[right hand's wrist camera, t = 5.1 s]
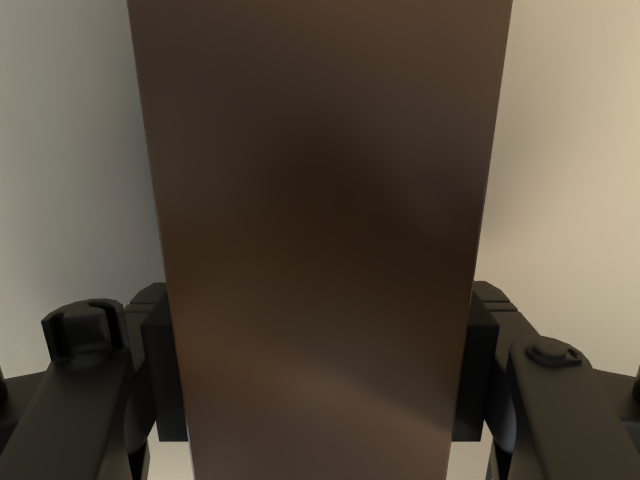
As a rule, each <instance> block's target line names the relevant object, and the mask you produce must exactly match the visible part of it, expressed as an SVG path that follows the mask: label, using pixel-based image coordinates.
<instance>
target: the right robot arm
mask: <svg viewBox="0 0 640 480" xmlns="http://www.w3.org/2000/svg"><path fill="white" fill-rule="evenodd" d="M41 324H42V327H43V331H44V335H45V339H46V343H47V346H48V350H49V354H50V358H51V363H50V365H49V367H48V369H47V370H46V371H43V372H39V373H34V374H29V375H24V376H18V377H13V378H8V379H4V377H3V374H2V370H1V367H0V480H147V477H148V470H149V462H150V453H149V446H148V441H147V437H148V435H149V433H150V431H151V429H152V427H153V425H154V423H155V421H156V425H157V430H158V436H159V442H188V434H187V427H186V420H185V413H184V406H183V399H182V392H181V384H180V377H179V370H178V363H177V356H176V349H175V342H174V334H173V327H172V320H171V313H170V306H169V299H168V292H167V284H166V283H153V284H151V285H150V286H148V287H146V288H144V289H143V290H141V291H139V292H138V293H137V295H136V296H135V297H134V298H133V299H132V300H131V302H130V304H128V305H127V306H126V307H125V308H124V310H123V305H122V304H120V303H119V302H118V301H116V300H111V299H88V300H83V301H78V302H74V303H71V304H68V305H65V306H62V307H60V308H58V309H57V310H55V311H53V312H51V313H49V314H48V315H47V316H46V317H45V318H44V319H43V320H42V321H41ZM484 419H485V421H486V423H487V425H488V427H489V429H490V431H491V433H492V436H493V441H492V446H491V451H490V457H489V462H488V468H487V473H486V479H485V480H492V478H493V480H640V366H639V369H638V372H637V376H636V377H632V376H627V375H621V374H616V373H611V372H606V371H600V370H596V369H593V368H592V366H591V364H590V362H589V361H588V359H587V358H586V357H585V356H584V355H583V354H582V352H580V351H579V350H577V349H576V348H574V347H572V346H571V345H569V344H567V343H564V342H562V341H559V340H557V339H554V338H549V337H545V336H540V335H539V333H538V332H537V331H536V330H535V329H534V328H533V326H532V325H531V324H530V323H529V322H528V321H527V320H526V318H525V317H524V316H523V315H522V314H521V313H520V312H518V309H517V308H516V307H515V306H514V305H513V303H510V300H509V299H508V298H507V297H506V295H505V294H504V293H503V292H502V291H501V290H500V289H498V288H496V287H495V286H493V285H491V284H489V283H488V282H486V281H474V282H473V289H472V296H471V303H470V310H469V317H468V325H467V332H466V339H465V346H464V353H463V360H462V368H461V375H460V382H459V389H458V396H457V403H456V411H455V418H454V425H453V432H452V439H451V442H480V440H481V435H482V429H483V423H484Z"/></svg>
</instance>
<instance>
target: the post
mask: <svg viewBox="0 0 640 480" xmlns="http://www.w3.org/2000/svg"><path fill="white" fill-rule="evenodd" d="M512 2H513V0H127V6H128V13H129V20H130V27H131V35H132V42H133V49H134V56H135V63H136V70H137V77H138V85H139V92H140V99H141V106H142V113H143V120H144V127H145V135H146V142H147V149H148V156H149V163H150V170H151V177H152V185H153V192H154V199H155V206H156V213H157V220H158V227H159V234H160V242H161V249H162V256H163V263H164V270H165V277H166V284H167V292H168V299H169V306H170V313H171V320H172V327H173V334H174V342H175V349H176V356H177V363H178V370H179V377H180V384H181V392H182V399H183V406H184V413H185V420H186V427H187V434H188V442H189V449H190V456H191V463H192V470H193V477H194V480H446V475H447V468H448V461H449V454H450V446H451V439H452V432H453V425H454V418H455V411H456V403H457V396H458V389H459V382H460V375H461V368H462V360H463V353H464V346H465V339H466V332H467V325H468V317H469V310H470V303H471V296H472V289H473V282H474V274H475V267H476V260H477V253H478V246H479V239H480V231H481V224H482V217H483V210H484V203H485V196H486V188H487V181H488V174H489V167H490V160H491V153H492V145H493V138H494V131H495V124H496V117H497V110H498V102H499V95H500V88H501V81H502V74H503V67H504V59H505V52H506V45H507V38H508V31H509V24H510V16H511V9H512Z"/></svg>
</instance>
